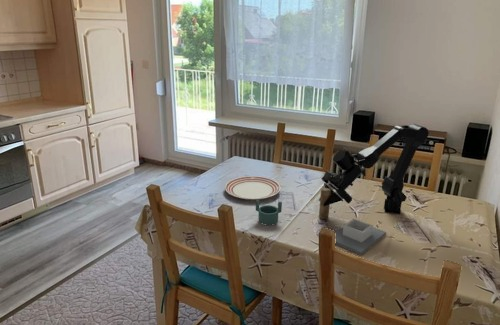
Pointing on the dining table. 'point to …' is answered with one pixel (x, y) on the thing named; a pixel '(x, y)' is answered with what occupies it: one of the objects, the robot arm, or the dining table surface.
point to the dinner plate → (252, 187)
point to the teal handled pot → (268, 213)
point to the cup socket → (358, 236)
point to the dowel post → (323, 209)
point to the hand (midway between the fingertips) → (321, 203)
